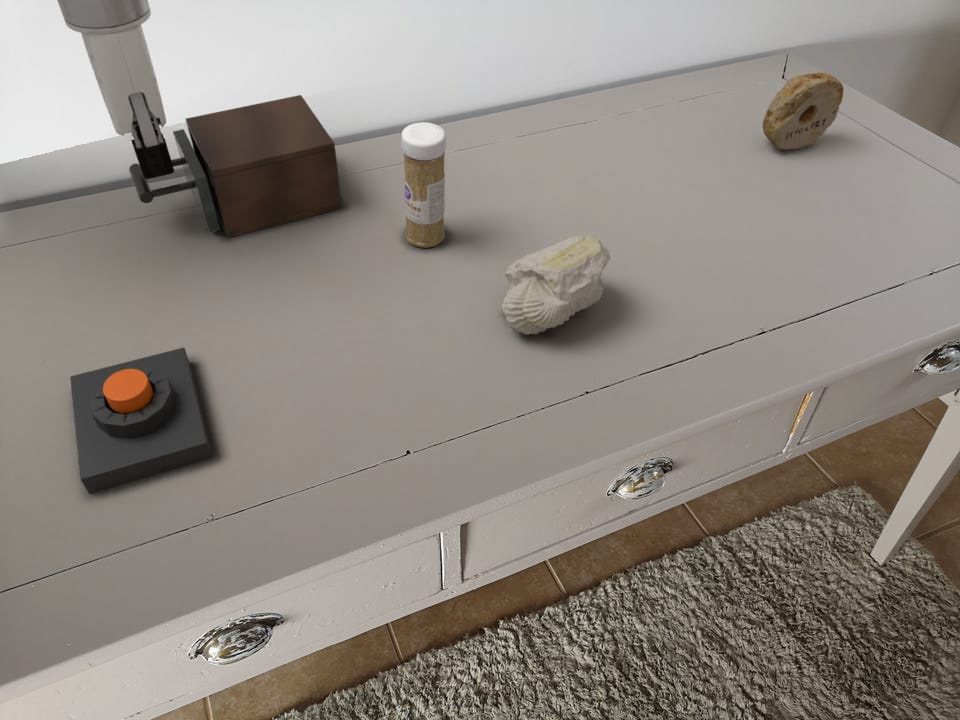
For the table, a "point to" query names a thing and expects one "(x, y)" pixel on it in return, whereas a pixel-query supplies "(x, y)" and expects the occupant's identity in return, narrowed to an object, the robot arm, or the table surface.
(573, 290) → the fossil replica
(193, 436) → the control block
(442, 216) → the sprinkles bottle
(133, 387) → the button
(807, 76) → the stone disc
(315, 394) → the table surface
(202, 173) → the grey drawer
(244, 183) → the drawer cabinet
